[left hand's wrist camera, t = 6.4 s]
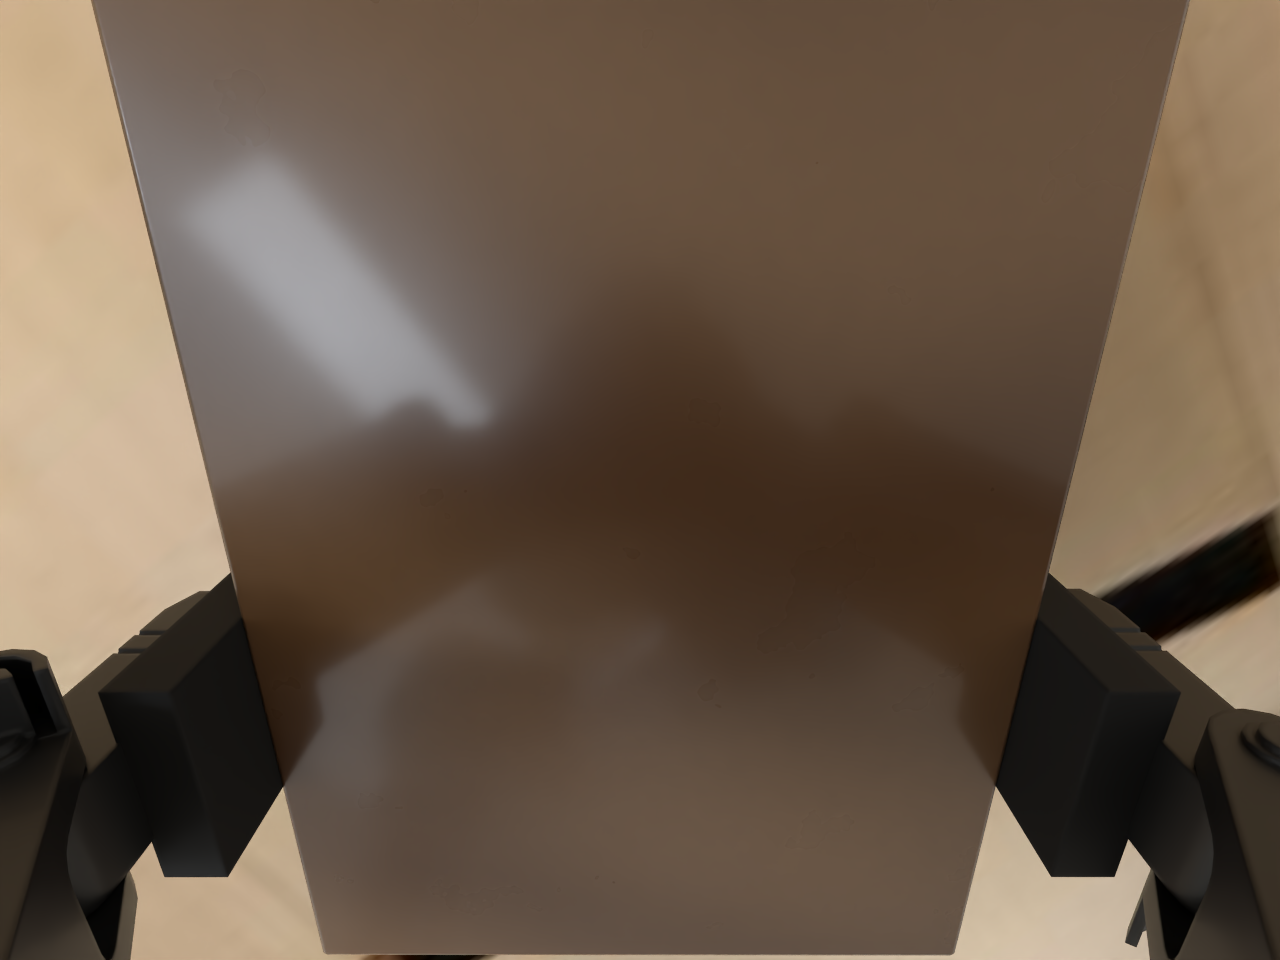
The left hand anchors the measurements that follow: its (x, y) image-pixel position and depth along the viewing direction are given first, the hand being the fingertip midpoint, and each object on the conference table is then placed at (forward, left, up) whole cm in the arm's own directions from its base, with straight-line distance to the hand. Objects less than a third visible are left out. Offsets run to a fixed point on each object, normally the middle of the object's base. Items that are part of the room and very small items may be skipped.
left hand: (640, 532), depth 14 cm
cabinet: (+4, 0, -4) cm, 6 cm away
